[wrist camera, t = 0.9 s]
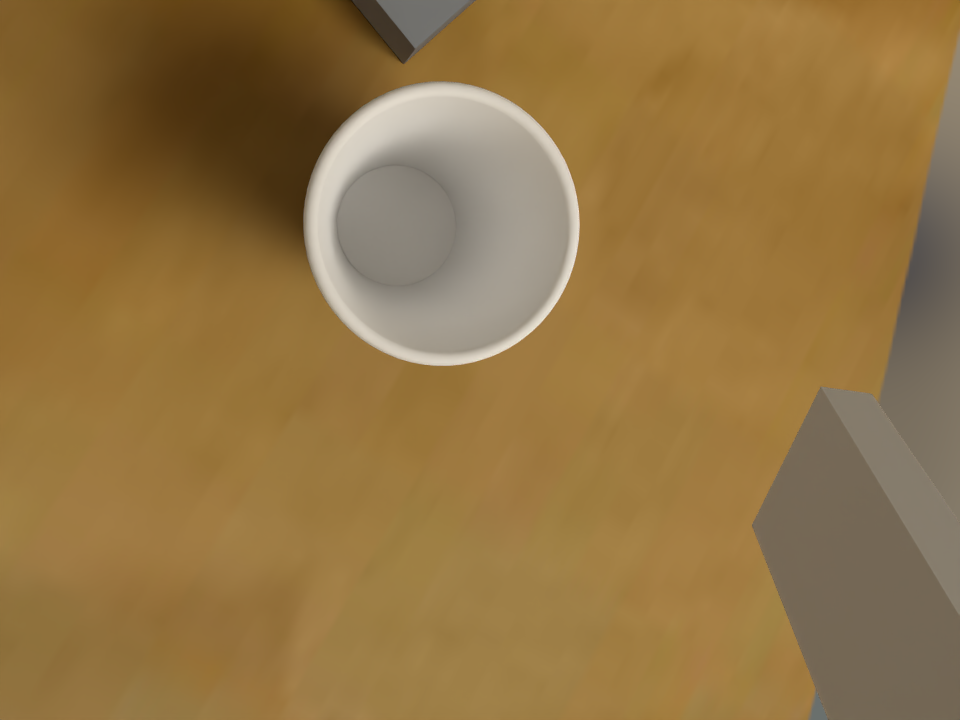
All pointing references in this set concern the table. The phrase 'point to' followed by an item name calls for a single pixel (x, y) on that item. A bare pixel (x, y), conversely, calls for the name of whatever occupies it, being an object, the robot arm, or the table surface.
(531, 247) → the dixie cup
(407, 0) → the plinth
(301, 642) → the table surface
